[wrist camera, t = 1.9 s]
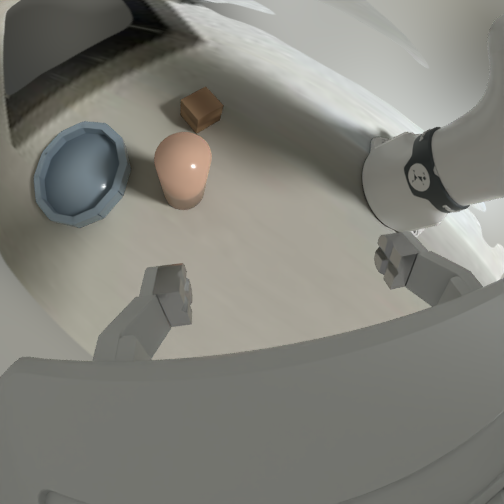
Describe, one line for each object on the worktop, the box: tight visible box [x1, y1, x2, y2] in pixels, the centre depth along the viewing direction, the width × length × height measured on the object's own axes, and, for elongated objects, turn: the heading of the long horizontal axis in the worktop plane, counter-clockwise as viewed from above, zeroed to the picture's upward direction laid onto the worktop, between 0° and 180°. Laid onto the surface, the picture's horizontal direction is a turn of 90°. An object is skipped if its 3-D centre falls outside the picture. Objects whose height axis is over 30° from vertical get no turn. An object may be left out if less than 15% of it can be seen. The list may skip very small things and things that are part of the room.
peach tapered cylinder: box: [154, 132, 212, 210], centre depth 28 cm, size 5×5×11 cm
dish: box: [34, 121, 131, 228], centre depth 29 cm, size 14×14×2 cm
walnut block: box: [181, 87, 224, 134], centre depth 32 cm, size 4×4×4 cm
